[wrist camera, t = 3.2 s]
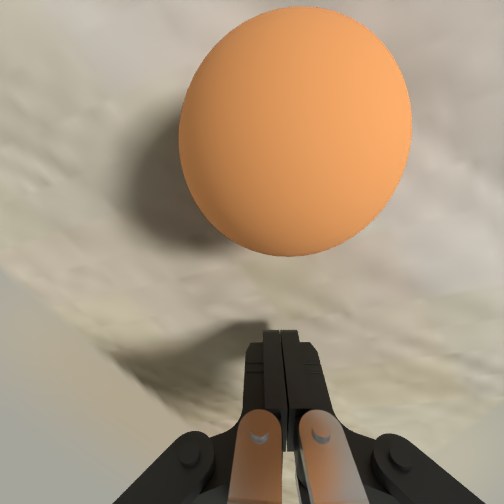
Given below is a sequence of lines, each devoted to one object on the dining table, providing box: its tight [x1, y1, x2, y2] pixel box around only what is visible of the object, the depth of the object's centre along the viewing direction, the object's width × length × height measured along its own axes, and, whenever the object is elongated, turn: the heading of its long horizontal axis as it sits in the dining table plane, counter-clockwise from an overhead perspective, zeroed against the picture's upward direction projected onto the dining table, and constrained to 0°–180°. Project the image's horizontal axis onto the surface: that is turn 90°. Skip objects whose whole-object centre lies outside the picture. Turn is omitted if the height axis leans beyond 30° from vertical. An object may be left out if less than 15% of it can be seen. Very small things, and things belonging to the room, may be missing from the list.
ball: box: [179, 7, 412, 257], centre depth 7 cm, size 6×6×6 cm
